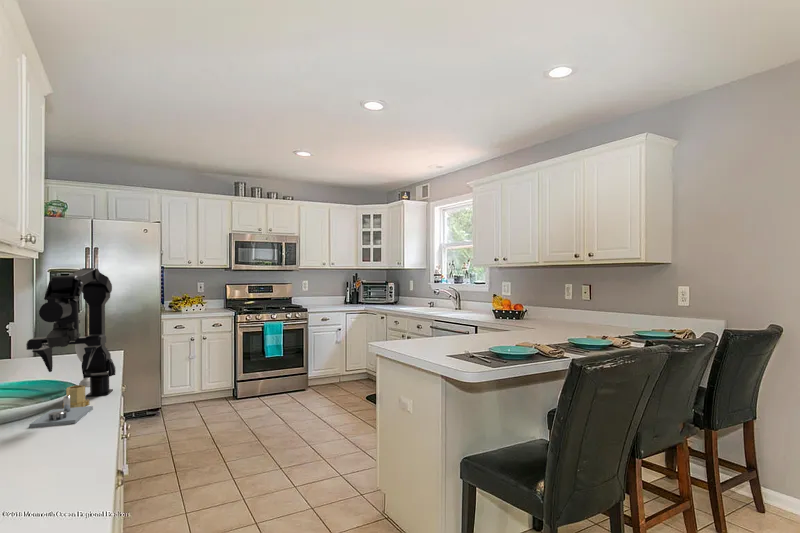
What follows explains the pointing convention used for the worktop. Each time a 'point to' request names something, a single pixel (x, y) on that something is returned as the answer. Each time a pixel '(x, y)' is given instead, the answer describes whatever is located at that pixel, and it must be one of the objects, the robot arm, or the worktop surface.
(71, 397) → the planet gear
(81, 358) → the chalice
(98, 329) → the robot arm
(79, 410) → the plate
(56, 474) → the worktop surface
